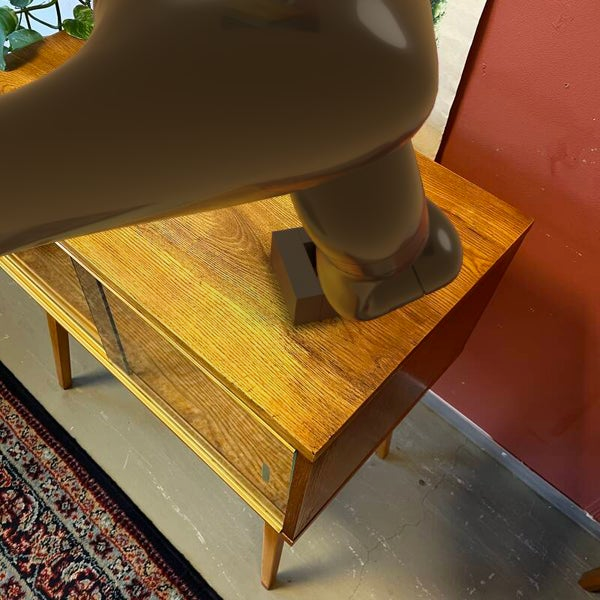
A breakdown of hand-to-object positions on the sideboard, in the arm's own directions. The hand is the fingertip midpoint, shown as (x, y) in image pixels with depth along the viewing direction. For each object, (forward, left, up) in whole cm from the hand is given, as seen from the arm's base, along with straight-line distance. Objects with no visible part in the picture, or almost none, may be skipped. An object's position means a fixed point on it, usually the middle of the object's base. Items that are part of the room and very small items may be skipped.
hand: (269, 16), depth 68 cm
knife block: (+2, -17, -24) cm, 29 cm away
